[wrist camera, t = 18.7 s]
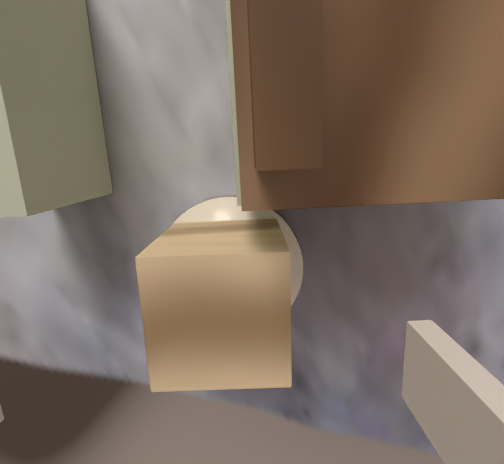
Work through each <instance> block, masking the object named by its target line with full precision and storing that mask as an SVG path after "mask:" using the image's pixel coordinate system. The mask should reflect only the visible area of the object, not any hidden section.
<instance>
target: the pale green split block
mask: <svg viewBox="0 0 504 464" xmlns="http://www.w3.org/2000/svg"><path fill="white" fill-rule="evenodd" d="M225 8H226V25H227V42H228V59H229V76H230V93H231V110H232V126H233V143H234V160H235V177H236V194H237V206H241V189H240V171H239V153H238V135H237V117H236V100H235V82H234V64H233V46H232V28H231V10H230V0H225ZM112 193H113V190H112V183H111V176H110V169H109V162H108V155H107V148H106V141H105V134H104V127H103V120H102V113H101V106H100V99H99V92H98V85H97V78H96V71H95V64H94V57H93V50H92V43H91V36H90V29H89V22H88V15H87V8H86V1H85V0H0V218H2V217H23V216H30V215H34V214H38V213H41V212H45V211H49V210H53V209H56V208H60V207H64V206H67V205H71V204H75V203H79V202H82V201H86V200H90V199H93V198H97V197H101V196H105V195H108V194H112Z"/></svg>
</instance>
